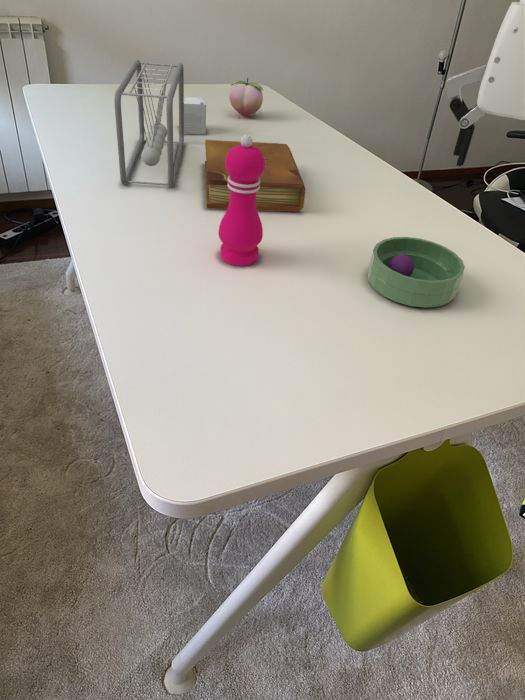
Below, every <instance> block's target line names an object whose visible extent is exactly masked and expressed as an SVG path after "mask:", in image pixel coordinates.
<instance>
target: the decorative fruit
mask: <svg viewBox="0 0 525 700" xmlns="http://www.w3.org/2000/svg"><path fill="white" fill-rule="evenodd" d="M230 87H232V88H231V89H230V92H229V103H230V105H231V107H232V108H233V109H234V110H235V111H236V112H237V113H238V114H240V115H241V116H243V117H245V118H246V117H249V116H251V115H254V114H256V113H257V112H258V111H259V110H260V109H261V107H262V105H263V101H264V100H263V99H264V96H263V95H264V94H263V92H262V91H264V89H263V87H262V86H261V85H260V84H259V83H258V82H253V81H251V82H250V81H249V78H248V77H246V81H244V80H237V81H234V82H232V83H231V84H230Z"/></svg>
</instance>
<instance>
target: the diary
mask: <svg viewBox="0 0 525 700" xmlns="http://www.w3.org/2000/svg"><path fill="white" fill-rule="evenodd" d="M204 143H205V144H204V148H205V161H204V175H205V195H206V196H205V197H206V209H215V210H227V209H228V205H229V201H230V189H229V188H228V186H227V184H228V177H229V176H230V175H229V173H228V172H227V170H226V167H225V159H226V156H227V154H228V152H229V151H230V149H232V148H233V147H235V146H237V145H241V141H239V140H238V141H237V140H218V139H216V140H215V139H205V141H204ZM252 146H254V147H256V148H258V149H259V150H260V151H261V152H262V154H263V155H264V159H265V169H264V172H263V174H262V175H261V176H260V177H259V179H260V189H259V190H258V191H257V193H256V207H257V211H272V212H295V213H296V212H298V213H299V212H300V211H301V210H302V209H303V208H304V205H305V198H306V192H307V188H306V185H305V183H304V181H303V177H302V176H301V175H302V174H301V173H300V171H299V167H298V165H297V163H296V161H295V158H294V156H293V153H292V151H291V148H290V146H288V144H287V143H277V142H276V143H275V142H260V141H259V142H258V141H256V142H255V141H253V143H252Z"/></svg>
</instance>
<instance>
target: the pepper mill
mask: <svg viewBox="0 0 525 700" xmlns="http://www.w3.org/2000/svg"><path fill="white" fill-rule="evenodd" d="M240 142H241V145H237V146H235V147H233V148H232V149H230V151H229V152H228V154H227V156H226V159H225V167H226V170H227V172H228V173H229V175H230V176H229V177H228V184H227V186H228V188H229V189H230V201H229V205H228V209H226V211H225V213H224V215H223V216H222V218H221V220H220V223H219V226H218V232H217V233H218V238H219V240H220V242H221V245H220V258H221V260H222V261H224V262H225V263H226V264H229V265H232V266H236V267H237V266H238V267H244V266H245V267H246V266H250V265H253V264H254V263H256V262H257V261H258V259H259V247H258V245H259V244H261V242H262V240H263V237H264V234H263V233H264V228H263V224H262V221H261V217H260V215H259V212H258V211H259V210H257V207H256V193H257V191H258V190H259V189H260V179H259V177H260V176H261V175H262V174H263V172H264V169H265V159H264V155H263V154H262V152H261V151H260V150H259V149H258V148H256V147H254V146H252V143H253V142H254V141H253V138H252V136H251V135H249V134H244V135H242V137H241V138H240Z"/></svg>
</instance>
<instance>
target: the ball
mask: <svg viewBox="0 0 525 700" xmlns="http://www.w3.org/2000/svg"><path fill="white" fill-rule="evenodd" d="M389 268H390V269H392V270H393V271H396V272H398V273H400V274H402V275H405V276H409V277H410V276H411V274H412V273H413V270H414V263H413V261H412V260H411V258H409V257H408V256H406V255H398V256H395V257H394V258H393V259H392V260H391V261H390V263H389Z"/></svg>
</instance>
